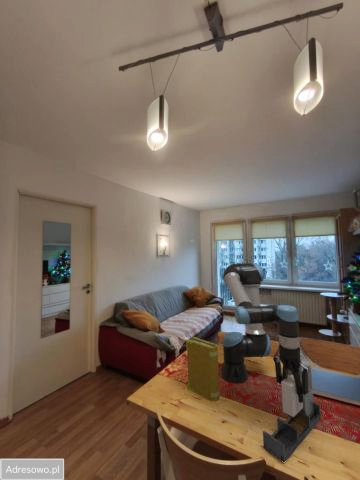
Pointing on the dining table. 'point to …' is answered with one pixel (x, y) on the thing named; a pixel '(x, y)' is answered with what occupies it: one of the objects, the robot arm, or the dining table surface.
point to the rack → (293, 429)
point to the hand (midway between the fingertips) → (293, 406)
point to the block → (289, 396)
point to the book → (203, 368)
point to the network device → (306, 364)
